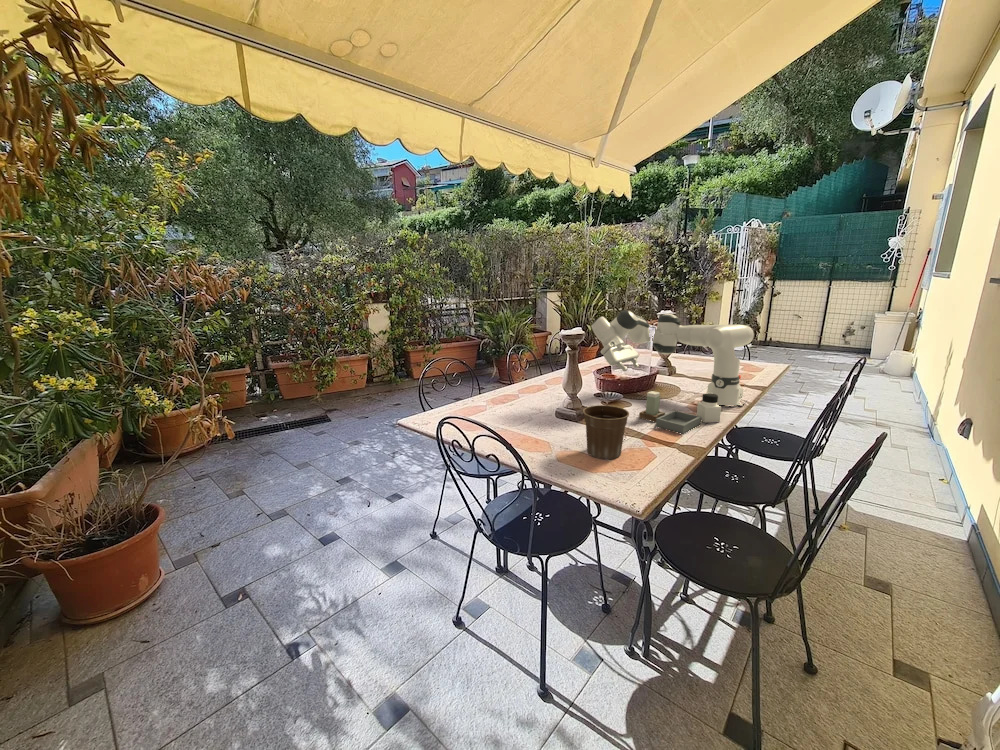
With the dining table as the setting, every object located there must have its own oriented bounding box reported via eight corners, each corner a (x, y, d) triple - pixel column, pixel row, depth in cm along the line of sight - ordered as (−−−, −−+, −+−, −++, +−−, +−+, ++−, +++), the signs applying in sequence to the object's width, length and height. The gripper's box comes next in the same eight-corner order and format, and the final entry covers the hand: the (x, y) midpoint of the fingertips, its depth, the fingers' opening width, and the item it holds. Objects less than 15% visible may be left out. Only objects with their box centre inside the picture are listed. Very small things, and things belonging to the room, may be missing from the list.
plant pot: (594, 440, 164) (595, 402, 160) (633, 450, 154) (636, 409, 150) (573, 454, 152) (574, 413, 148) (615, 466, 142) (617, 422, 138)
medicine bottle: (719, 422, 181) (722, 396, 178) (703, 422, 181) (706, 396, 178) (711, 416, 188) (714, 391, 185) (696, 417, 188) (698, 391, 185)
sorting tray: (674, 418, 187) (674, 410, 186) (700, 425, 178) (701, 416, 178) (655, 426, 177) (656, 418, 176) (682, 434, 168) (683, 425, 168)
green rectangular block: (650, 415, 191) (651, 390, 188) (658, 418, 188) (660, 392, 185) (645, 417, 188) (647, 392, 186) (653, 420, 185) (655, 394, 183)
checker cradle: (648, 413, 194) (648, 407, 193) (664, 418, 188) (665, 412, 187) (639, 417, 189) (639, 411, 188) (655, 422, 183) (656, 416, 182)
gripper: (623, 347, 206) (639, 369, 201) (597, 352, 193) (614, 376, 188) (631, 339, 201) (648, 361, 196) (606, 344, 188) (623, 368, 183)
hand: (631, 369), depth 192 cm, fingers open, 8 cm apart
